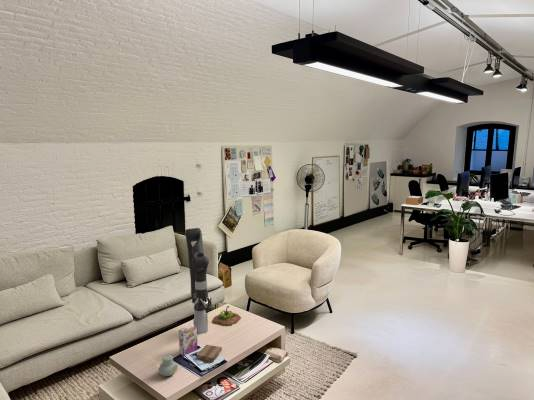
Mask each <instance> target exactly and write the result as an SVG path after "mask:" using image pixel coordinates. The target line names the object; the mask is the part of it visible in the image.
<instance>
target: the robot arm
mask: <svg viewBox="0 0 534 400" xmlns="http://www.w3.org/2000/svg"><path fill="white" fill-rule="evenodd" d="M184 234H185V240H186V246H187V247H186V248H187V257H188V266H189V267H188V268H189V275H190V295H191V304H193V314H194V315H193V316H194V318H193V321H192V322H193V323H192V324H193V325H195V326H197V335H198V334H199V335H200V334H206V333H208V332H209V331H208V330H209V321H208V319H209V318H208V314H209V312H210V307H212V306H213V305H212V297H211V296H209V292H208V282H207V281H208V280H207V271H208V267H209V262H210V259H209V257H208V256H205V252H204V248H203V246H204V245H203V233H202V230H201V228H199V227H194V228H187V229H185V233H184ZM192 242H195V243H194V245H192V244H193V243H192Z"/></svg>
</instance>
